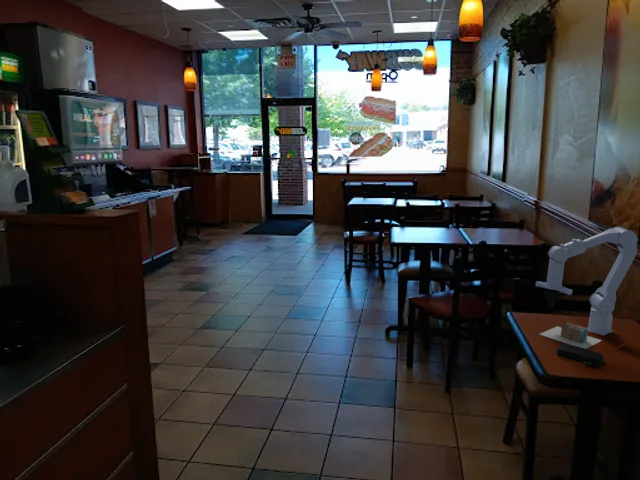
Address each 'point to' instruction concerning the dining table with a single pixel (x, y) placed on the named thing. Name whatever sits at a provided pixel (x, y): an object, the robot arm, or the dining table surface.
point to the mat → (556, 334)
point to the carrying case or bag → (580, 354)
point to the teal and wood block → (574, 333)
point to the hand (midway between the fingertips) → (550, 306)
